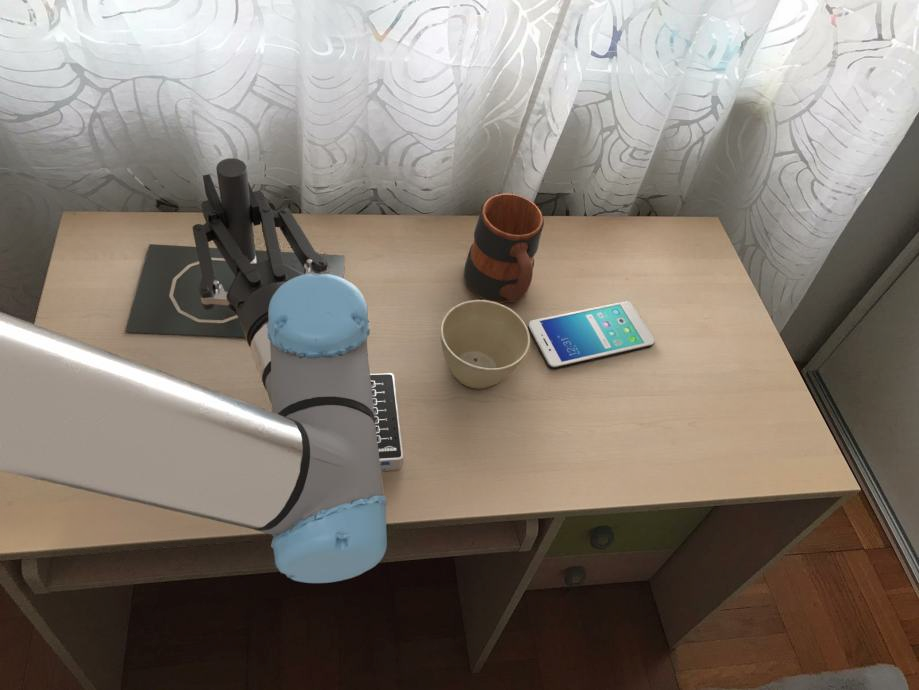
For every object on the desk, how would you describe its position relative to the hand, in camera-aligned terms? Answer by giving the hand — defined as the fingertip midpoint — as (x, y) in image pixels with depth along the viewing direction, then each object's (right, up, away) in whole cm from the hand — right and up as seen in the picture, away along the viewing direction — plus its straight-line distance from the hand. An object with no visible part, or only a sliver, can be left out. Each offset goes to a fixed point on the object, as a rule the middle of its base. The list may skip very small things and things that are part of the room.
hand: (224, 181), depth 84 cm
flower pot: (+29, -22, +4) cm, 36 cm away
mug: (+32, -12, +12) cm, 36 cm away
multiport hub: (+18, -27, -3) cm, 33 cm away
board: (0, -12, +6) cm, 14 cm away
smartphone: (+43, -17, +9) cm, 47 cm away
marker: (+1, -9, +3) cm, 9 cm away
